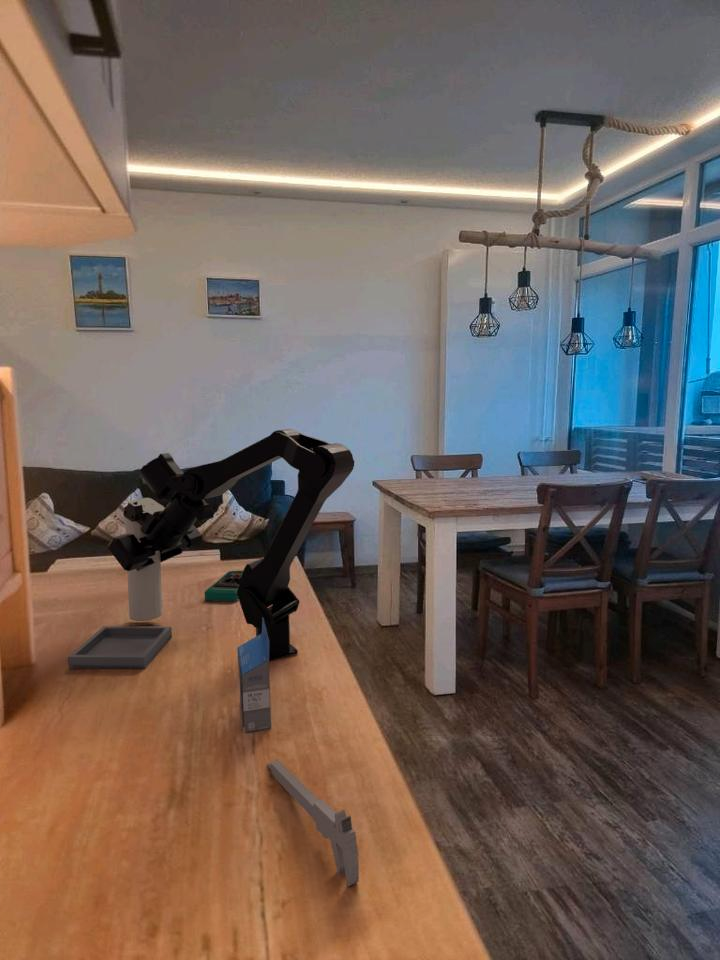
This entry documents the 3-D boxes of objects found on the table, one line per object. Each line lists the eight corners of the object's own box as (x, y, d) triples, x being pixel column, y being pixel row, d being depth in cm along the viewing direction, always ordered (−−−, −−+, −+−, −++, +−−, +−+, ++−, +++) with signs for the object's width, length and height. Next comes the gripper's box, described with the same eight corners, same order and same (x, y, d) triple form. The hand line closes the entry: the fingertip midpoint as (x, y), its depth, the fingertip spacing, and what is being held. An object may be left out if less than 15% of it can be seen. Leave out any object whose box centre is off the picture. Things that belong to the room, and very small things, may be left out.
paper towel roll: (160, 620, 110) (156, 508, 108) (126, 623, 109) (121, 510, 107) (165, 608, 117) (161, 503, 115) (133, 611, 116) (128, 504, 114)
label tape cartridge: (238, 700, 85) (235, 619, 83) (265, 696, 86) (262, 616, 84) (243, 734, 76) (239, 644, 74) (273, 729, 77) (270, 641, 75)
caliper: (359, 887, 53) (358, 824, 52) (349, 892, 52) (348, 829, 51) (274, 764, 70) (273, 716, 69) (266, 767, 70) (264, 718, 69)
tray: (172, 636, 107) (171, 626, 107) (145, 668, 94) (144, 657, 94) (104, 636, 107) (103, 626, 107) (68, 668, 95) (67, 657, 94)
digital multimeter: (257, 582, 139) (257, 570, 139) (236, 603, 125) (236, 590, 124) (228, 581, 140) (227, 569, 140) (203, 602, 126) (203, 589, 125)
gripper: (187, 478, 116) (149, 528, 122) (111, 493, 99) (72, 549, 105) (221, 520, 114) (180, 568, 120) (149, 542, 97) (106, 597, 103)
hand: (137, 569), depth 112 cm, fingers closed on paper towel roll, 3 cm apart
